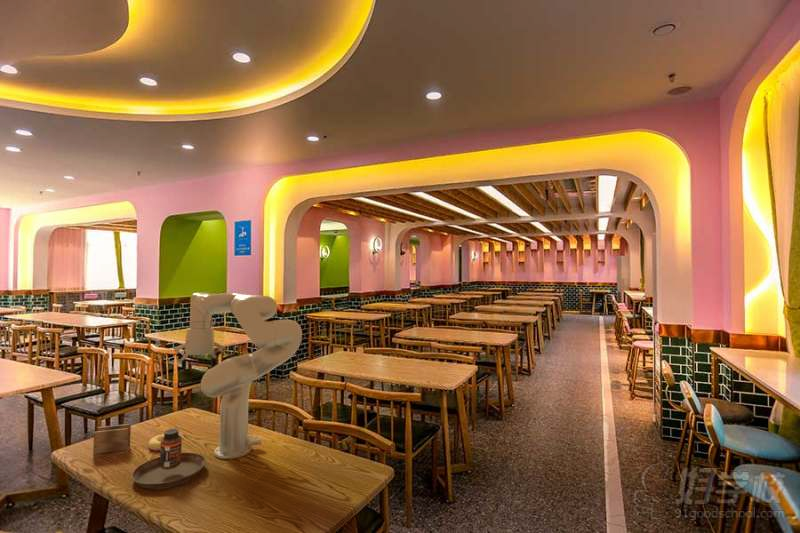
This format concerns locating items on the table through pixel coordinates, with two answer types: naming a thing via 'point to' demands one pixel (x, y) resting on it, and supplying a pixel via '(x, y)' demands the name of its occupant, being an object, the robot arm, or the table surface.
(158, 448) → the donut
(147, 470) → the plant saucer
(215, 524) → the table surface
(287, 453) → the table surface
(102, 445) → the napkin holder
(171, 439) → the supplement bottle
